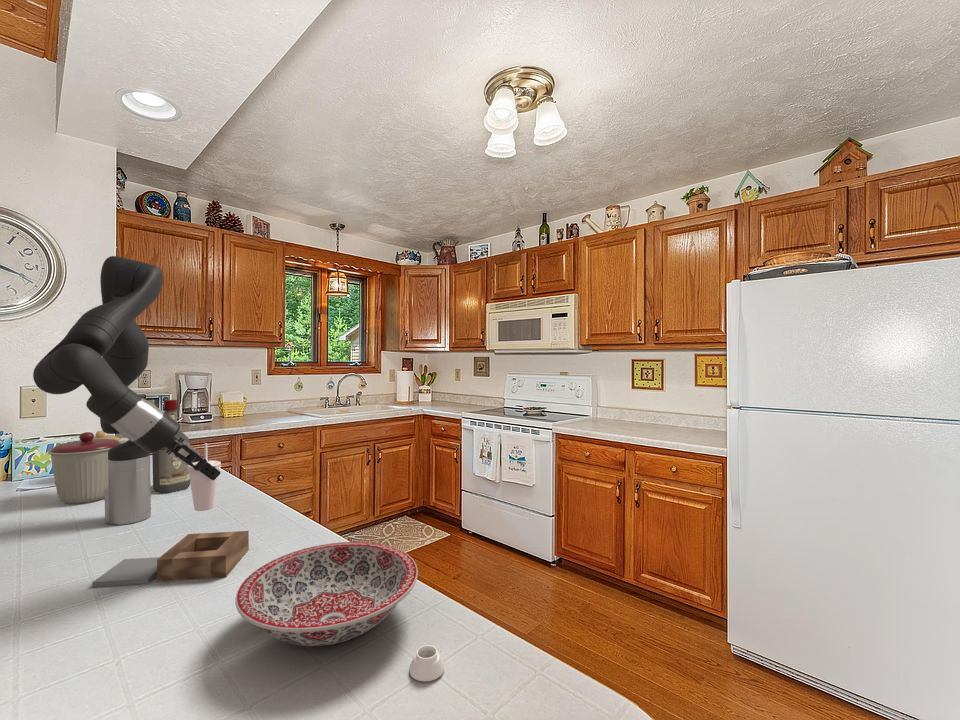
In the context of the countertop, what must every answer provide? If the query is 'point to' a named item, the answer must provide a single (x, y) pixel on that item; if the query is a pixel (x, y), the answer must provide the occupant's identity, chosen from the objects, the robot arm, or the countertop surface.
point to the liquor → (170, 462)
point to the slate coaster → (129, 573)
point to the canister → (81, 468)
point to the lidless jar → (426, 664)
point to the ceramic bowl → (326, 592)
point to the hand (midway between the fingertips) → (212, 473)
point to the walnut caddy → (203, 556)
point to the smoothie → (203, 486)
